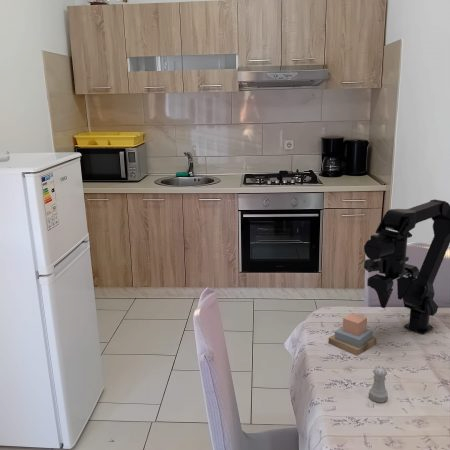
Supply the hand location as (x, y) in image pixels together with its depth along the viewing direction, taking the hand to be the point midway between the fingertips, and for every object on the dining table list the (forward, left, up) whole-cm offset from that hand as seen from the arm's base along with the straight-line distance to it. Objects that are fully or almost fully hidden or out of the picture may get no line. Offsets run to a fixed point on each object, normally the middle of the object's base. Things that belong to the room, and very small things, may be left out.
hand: (391, 303), depth 139 cm
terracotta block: (+10, -6, -8) cm, 14 cm away
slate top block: (+10, -6, -10) cm, 15 cm away
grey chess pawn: (+28, +14, -12) cm, 34 cm away
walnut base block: (+10, -6, -13) cm, 17 cm away
